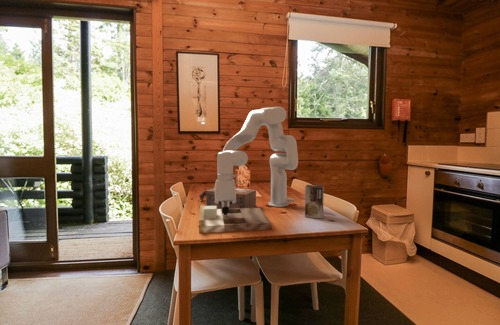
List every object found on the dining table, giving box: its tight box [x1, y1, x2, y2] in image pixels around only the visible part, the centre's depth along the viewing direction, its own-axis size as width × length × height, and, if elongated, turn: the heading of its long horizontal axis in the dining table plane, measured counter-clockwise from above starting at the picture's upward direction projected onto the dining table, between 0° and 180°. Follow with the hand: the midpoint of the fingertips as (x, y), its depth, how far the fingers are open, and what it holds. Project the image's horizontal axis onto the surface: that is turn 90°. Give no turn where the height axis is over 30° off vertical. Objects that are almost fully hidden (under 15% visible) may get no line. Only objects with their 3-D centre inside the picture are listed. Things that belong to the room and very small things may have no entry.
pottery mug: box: [198, 190, 206, 201], centre depth 180 cm, size 12×10×8 cm
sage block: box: [204, 205, 218, 218], centre depth 135 cm, size 6×6×4 cm
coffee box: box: [304, 184, 325, 219], centre depth 145 cm, size 9×6×16 cm
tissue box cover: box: [205, 187, 257, 209], centre depth 166 cm, size 26×14×10 cm, turn 65°
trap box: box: [198, 204, 272, 234], centre depth 136 cm, size 32×27×6 cm
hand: (225, 214), depth 136 cm, fingers closed
